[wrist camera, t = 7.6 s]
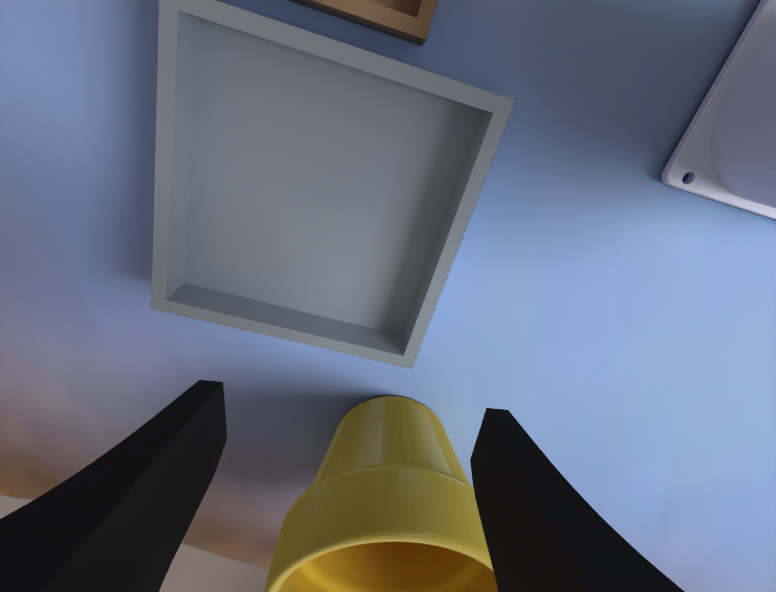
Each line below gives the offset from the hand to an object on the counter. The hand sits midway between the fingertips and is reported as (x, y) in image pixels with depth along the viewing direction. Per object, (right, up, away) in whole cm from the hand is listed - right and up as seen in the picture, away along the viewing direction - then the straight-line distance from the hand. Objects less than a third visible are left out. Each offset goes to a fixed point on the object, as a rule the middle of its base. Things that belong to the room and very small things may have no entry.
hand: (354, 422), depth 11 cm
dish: (-2, +8, +7) cm, 11 cm away
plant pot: (+1, -5, +14) cm, 15 cm away
